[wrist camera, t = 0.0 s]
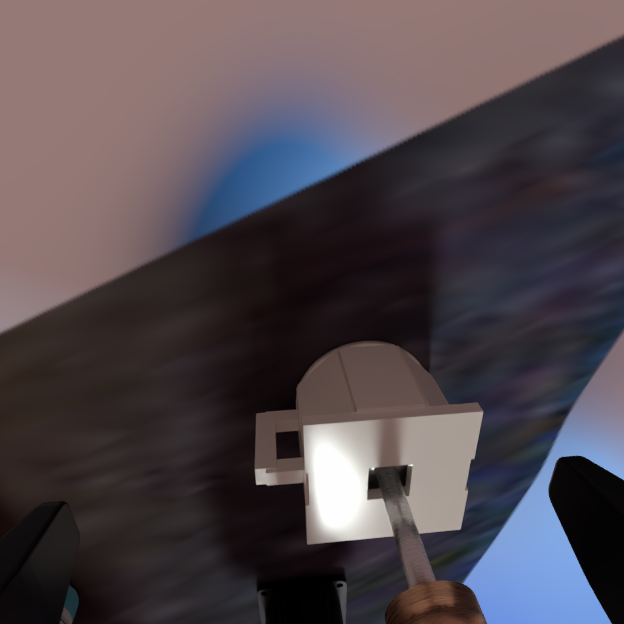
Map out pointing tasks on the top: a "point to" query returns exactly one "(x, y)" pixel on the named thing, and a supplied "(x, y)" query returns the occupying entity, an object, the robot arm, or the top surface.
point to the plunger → (419, 564)
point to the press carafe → (371, 443)
